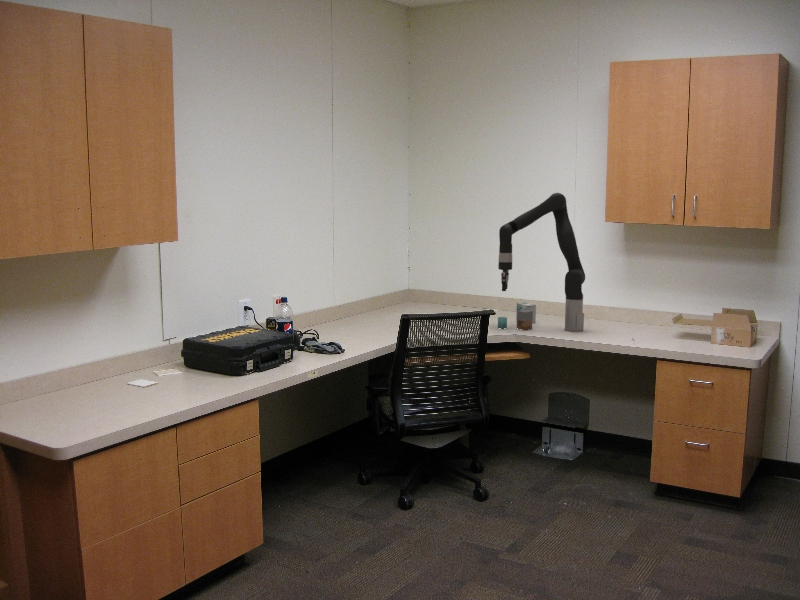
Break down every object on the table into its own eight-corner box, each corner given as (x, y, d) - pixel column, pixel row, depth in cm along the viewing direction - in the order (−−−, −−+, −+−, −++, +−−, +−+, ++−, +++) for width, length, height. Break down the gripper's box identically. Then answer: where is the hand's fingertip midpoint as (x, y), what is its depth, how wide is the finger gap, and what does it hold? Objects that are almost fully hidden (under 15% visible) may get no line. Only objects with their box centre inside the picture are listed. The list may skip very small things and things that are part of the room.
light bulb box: (515, 321, 467) (516, 302, 465) (525, 320, 469) (526, 301, 468) (526, 324, 457) (526, 305, 455) (536, 323, 460) (536, 304, 458)
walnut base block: (532, 329, 442) (532, 320, 441) (525, 330, 438) (525, 321, 437) (523, 327, 447) (523, 318, 446) (516, 328, 443) (516, 319, 442)
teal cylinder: (508, 328, 444) (508, 317, 443) (502, 329, 440) (502, 318, 439) (501, 327, 447) (502, 316, 446) (495, 328, 444) (495, 317, 443)
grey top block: (532, 320, 441) (532, 311, 441) (525, 321, 437) (525, 312, 437) (523, 318, 446) (524, 309, 445) (516, 319, 442) (517, 310, 441)
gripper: (511, 262, 437) (510, 292, 439) (513, 259, 450) (512, 288, 453) (497, 262, 438) (496, 291, 441) (499, 259, 452) (499, 288, 454)
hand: (504, 290), depth 447 cm, fingers open, 8 cm apart
